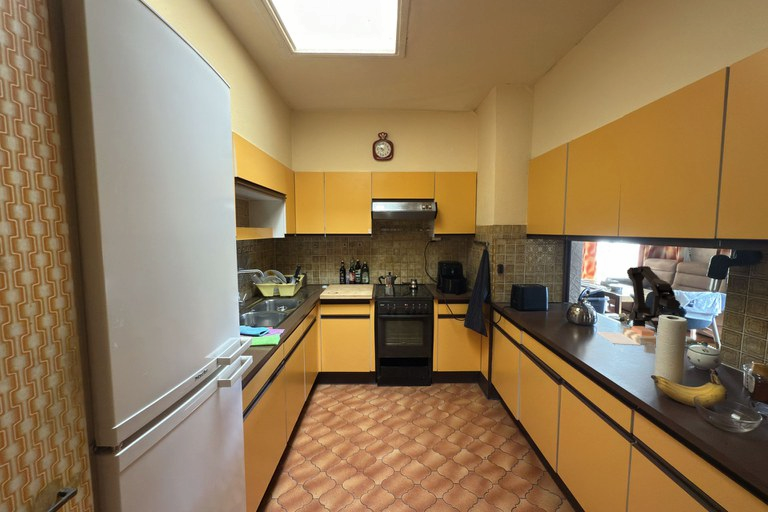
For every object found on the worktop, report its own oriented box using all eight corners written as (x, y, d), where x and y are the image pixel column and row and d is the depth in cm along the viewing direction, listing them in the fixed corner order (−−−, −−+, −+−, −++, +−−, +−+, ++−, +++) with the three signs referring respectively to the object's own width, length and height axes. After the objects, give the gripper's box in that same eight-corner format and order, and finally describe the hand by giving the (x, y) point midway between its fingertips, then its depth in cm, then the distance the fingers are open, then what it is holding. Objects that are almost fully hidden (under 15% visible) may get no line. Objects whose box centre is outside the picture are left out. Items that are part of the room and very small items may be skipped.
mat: (596, 332, 181) (596, 331, 181) (621, 333, 179) (621, 333, 179) (613, 343, 164) (613, 343, 164) (640, 345, 161) (640, 344, 161)
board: (622, 334, 178) (622, 327, 177) (639, 335, 176) (640, 328, 176) (639, 344, 162) (640, 337, 162) (659, 345, 160) (659, 338, 160)
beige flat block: (653, 352, 152) (655, 337, 151) (655, 353, 151) (656, 338, 150) (636, 350, 155) (637, 335, 154) (638, 351, 153) (639, 336, 153)
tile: (631, 330, 173) (631, 325, 173) (643, 330, 172) (643, 326, 172) (641, 335, 165) (641, 331, 164) (654, 336, 163) (654, 331, 163)
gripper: (650, 308, 159) (648, 336, 161) (691, 309, 156) (689, 338, 157) (637, 302, 170) (635, 329, 172) (675, 304, 167) (673, 331, 168)
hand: (657, 332), depth 167 cm, fingers closed
